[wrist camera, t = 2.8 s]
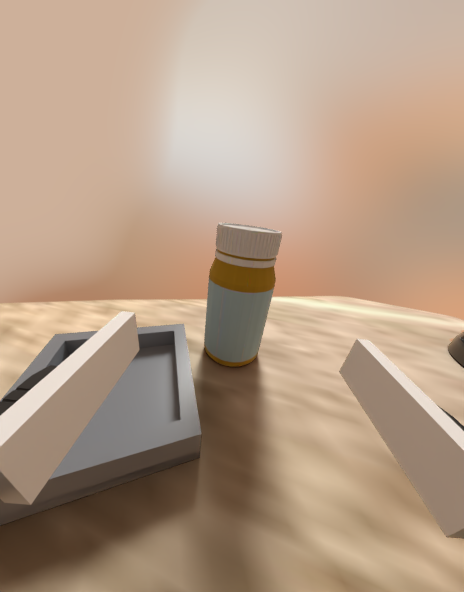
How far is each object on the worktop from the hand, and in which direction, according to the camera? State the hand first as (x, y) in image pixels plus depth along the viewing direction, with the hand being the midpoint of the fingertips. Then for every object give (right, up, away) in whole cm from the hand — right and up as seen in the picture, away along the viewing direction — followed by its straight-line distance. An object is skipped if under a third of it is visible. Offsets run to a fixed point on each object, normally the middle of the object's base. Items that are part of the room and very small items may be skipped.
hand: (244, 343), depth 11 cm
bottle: (-1, -4, +13) cm, 13 cm away
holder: (-11, -6, +5) cm, 13 cm away
